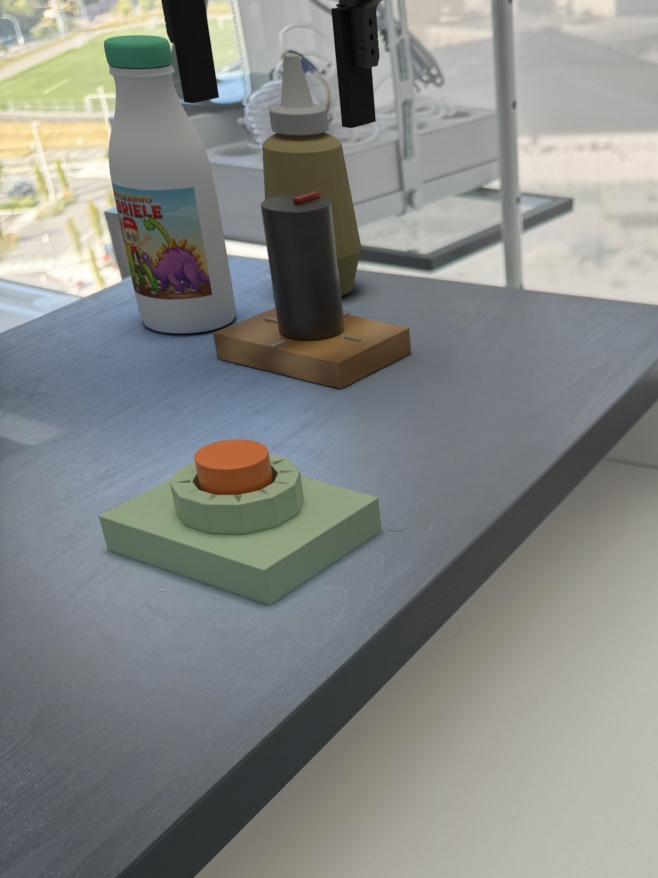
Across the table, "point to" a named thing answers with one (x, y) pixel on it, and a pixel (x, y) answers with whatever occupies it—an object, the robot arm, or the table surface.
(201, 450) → the push button
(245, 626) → the table surface
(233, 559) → the green button base
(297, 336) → the knob
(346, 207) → the squeeze bottle
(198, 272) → the milk bottle
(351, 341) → the panel
